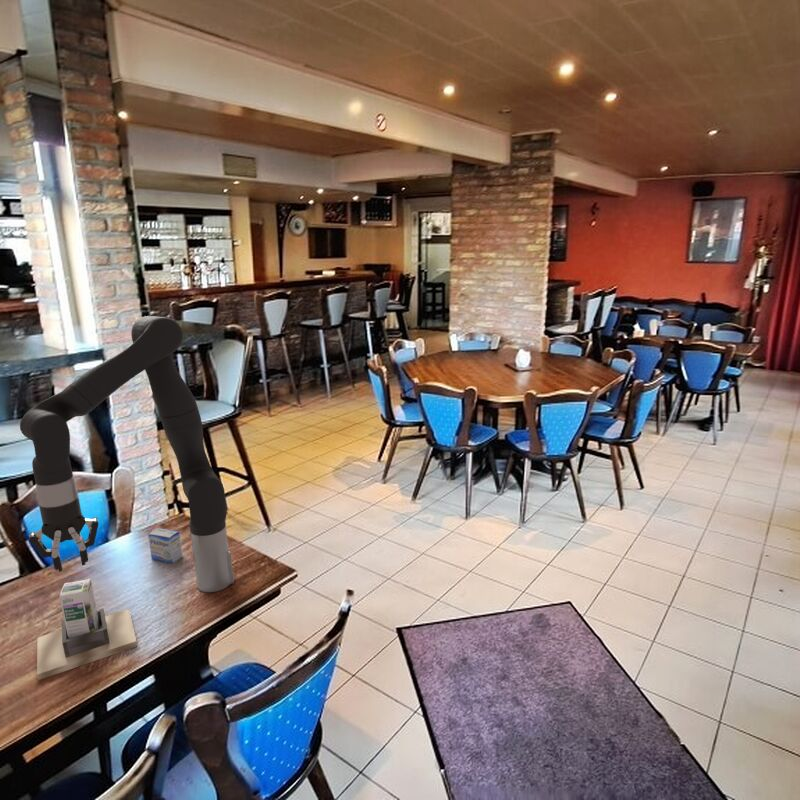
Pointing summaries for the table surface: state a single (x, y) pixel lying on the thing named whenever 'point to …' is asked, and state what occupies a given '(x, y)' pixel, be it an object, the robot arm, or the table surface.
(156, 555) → the medicine box
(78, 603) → the syrup box
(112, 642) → the socket stand
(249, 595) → the table surface
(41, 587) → the table surface
